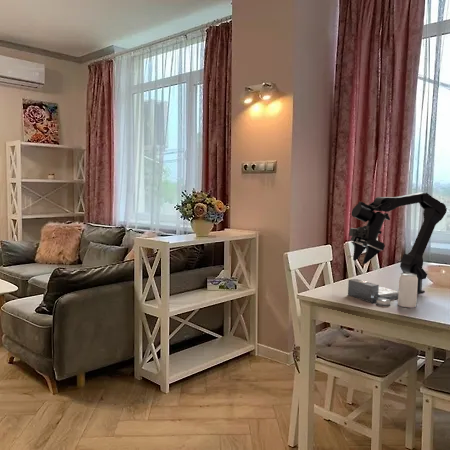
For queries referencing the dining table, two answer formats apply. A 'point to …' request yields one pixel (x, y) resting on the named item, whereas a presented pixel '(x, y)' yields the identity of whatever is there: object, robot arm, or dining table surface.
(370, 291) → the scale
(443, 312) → the dining table surface
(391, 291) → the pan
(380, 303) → the spacer
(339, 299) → the dining table surface
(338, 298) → the dining table surface
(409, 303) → the can
